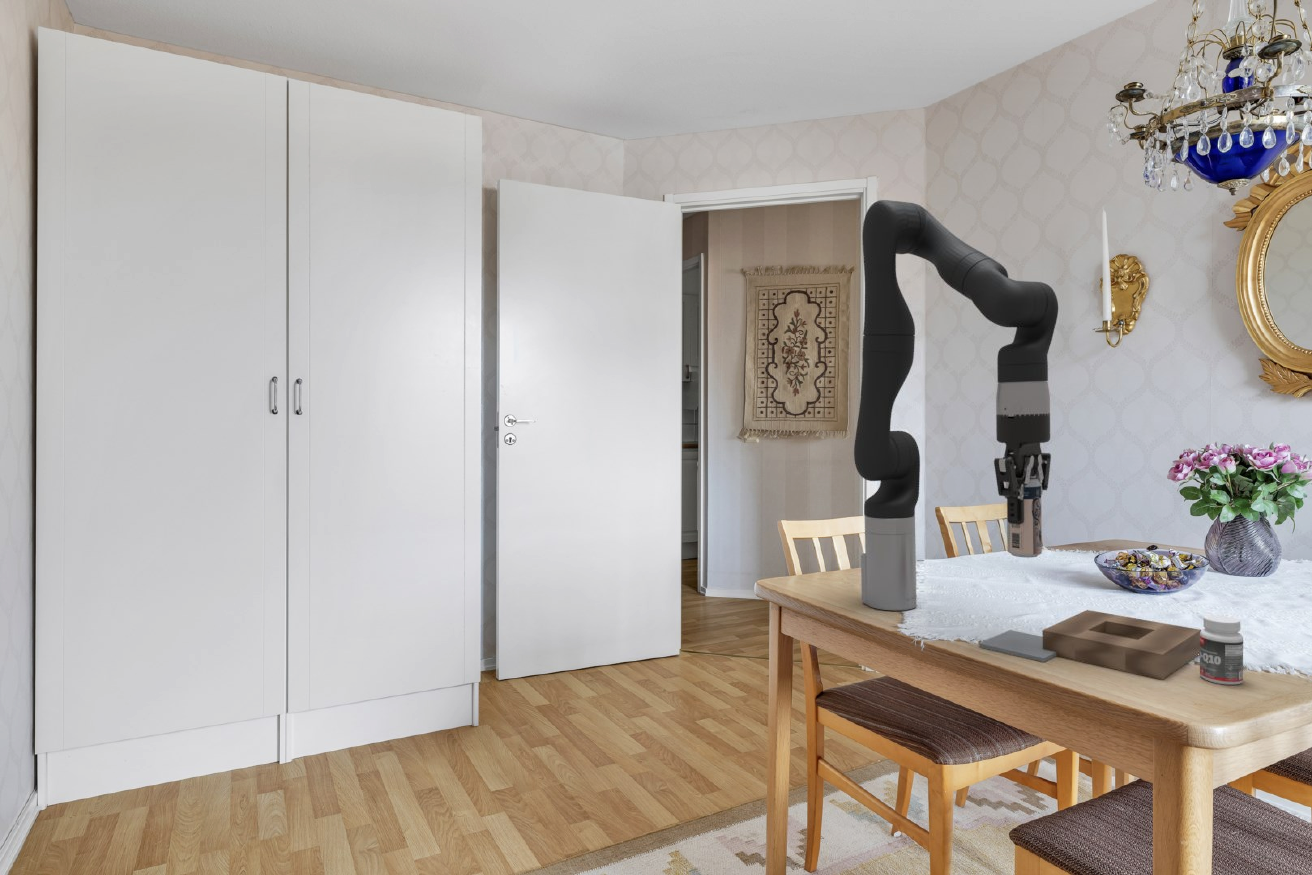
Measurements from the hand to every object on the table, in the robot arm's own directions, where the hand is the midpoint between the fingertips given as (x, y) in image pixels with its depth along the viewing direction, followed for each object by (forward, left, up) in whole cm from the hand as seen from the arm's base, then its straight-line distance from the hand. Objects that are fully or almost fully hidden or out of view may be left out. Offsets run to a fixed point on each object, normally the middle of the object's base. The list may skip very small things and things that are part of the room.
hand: (1023, 520), depth 119 cm
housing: (+11, +7, -20) cm, 24 cm away
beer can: (0, 0, -6) cm, 6 cm away
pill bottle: (+24, +5, -20) cm, 32 cm away
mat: (0, 0, -20) cm, 20 cm away
